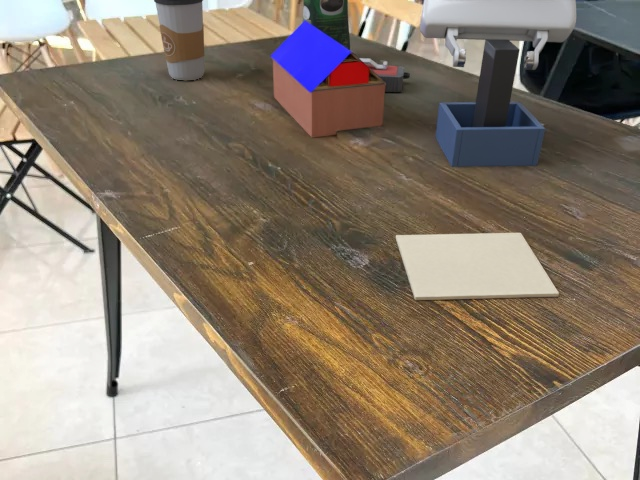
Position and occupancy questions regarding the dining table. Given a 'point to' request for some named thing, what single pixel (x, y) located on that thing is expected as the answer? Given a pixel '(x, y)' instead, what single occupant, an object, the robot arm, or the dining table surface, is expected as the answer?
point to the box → (488, 137)
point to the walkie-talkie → (388, 74)
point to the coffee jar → (329, 18)
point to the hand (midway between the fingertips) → (494, 66)
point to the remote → (495, 83)
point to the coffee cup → (182, 37)
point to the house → (325, 84)
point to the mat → (473, 267)
